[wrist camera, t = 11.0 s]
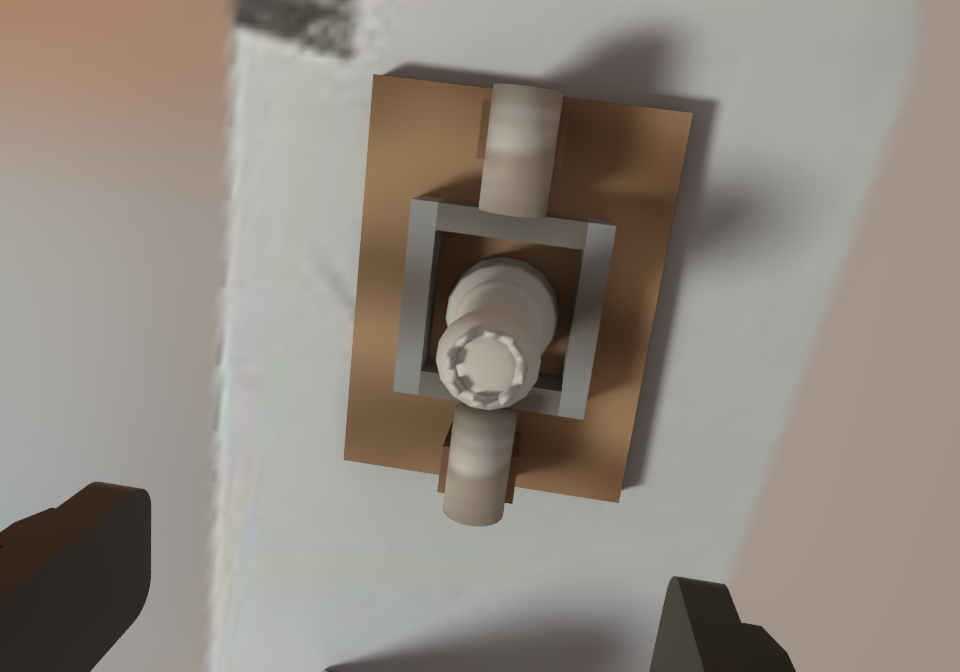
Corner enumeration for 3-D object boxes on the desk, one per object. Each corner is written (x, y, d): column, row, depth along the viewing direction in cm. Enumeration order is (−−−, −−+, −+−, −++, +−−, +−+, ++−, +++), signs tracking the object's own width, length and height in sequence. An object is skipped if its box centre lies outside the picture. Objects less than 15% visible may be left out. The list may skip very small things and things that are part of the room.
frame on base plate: (616, 492, 32) (626, 551, 27) (349, 450, 33) (316, 501, 28) (688, 114, 28) (714, 108, 23) (379, 76, 29) (345, 63, 24)
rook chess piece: (533, 237, 29) (525, 272, 21) (576, 339, 29) (583, 409, 22) (430, 280, 29) (386, 330, 22) (475, 378, 30) (448, 459, 23)
